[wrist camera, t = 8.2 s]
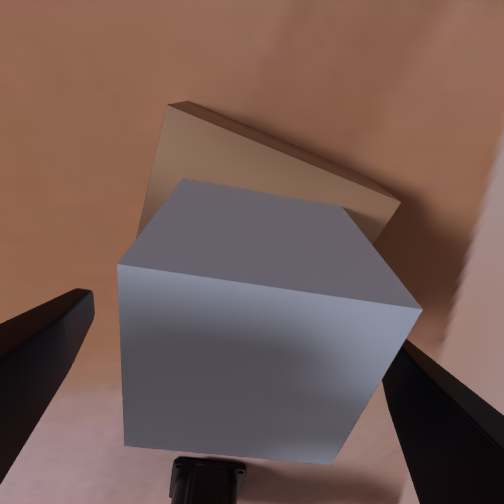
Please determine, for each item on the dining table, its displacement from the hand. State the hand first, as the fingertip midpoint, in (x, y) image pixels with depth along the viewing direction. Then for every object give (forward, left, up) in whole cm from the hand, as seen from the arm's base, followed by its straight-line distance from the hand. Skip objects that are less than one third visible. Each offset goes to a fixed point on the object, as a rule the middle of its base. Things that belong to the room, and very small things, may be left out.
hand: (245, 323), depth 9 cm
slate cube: (0, 0, -4) cm, 4 cm away
